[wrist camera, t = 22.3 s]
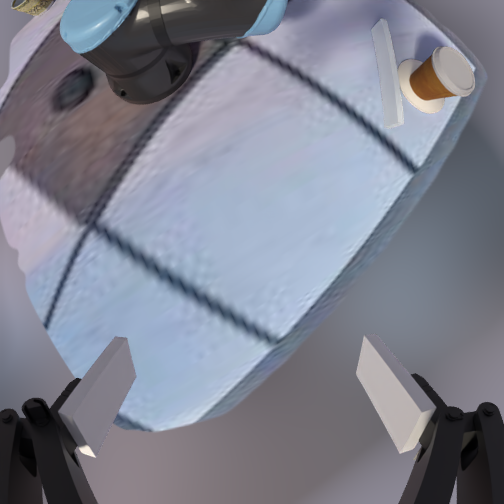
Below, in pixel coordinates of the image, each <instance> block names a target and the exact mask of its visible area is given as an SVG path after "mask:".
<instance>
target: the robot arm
mask: <svg viewBox="0 0 504 504" xmlns="http://www.w3.org/2000/svg"><path fill="white" fill-rule="evenodd" d="M287 3H288V0H71V1H70V3H69V4H68V6H67V7H66V9H65V11H64V13H63V16H62V19H61V22H60V33H61V36H62V38H63V40H64V41H65V42H66V43H68V44H69V45H70V46H71V48H72V49H73V51H75V52H77V53H78V54H80V55H81V56H83V57H84V58H85V59H87V60H88V61H90V62H91V63H93V64H94V65H95V66H97V67H98V68H99V69H101V70H102V71H104V72H105V73H106V76H107V79H108V82H109V85H110V87H111V89H112V90H113V92H114V93H115V94H116V95H117V96H119V97H120V98H122V99H123V100H125V101H127V102H129V103H132V104H149V103H154V102H157V101H159V100H162V99H164V98H166V97H167V96H169V95H171V94H172V93H173V92H175V91H176V90H177V89H178V88H179V87H180V86H181V85H182V84H183V83H184V81H185V80H186V78H187V77H188V75H189V73H190V70H191V67H192V63H193V55H192V51H191V48H190V46H189V43H192V42H198V41H205V40H212V39H220V38H230V37H236V38H244V37H247V36H254V35H265V34H268V33H270V32H272V31H274V30H275V29H276V28H277V27H278V26H279V25H280V23H281V21H282V19H283V17H284V14H285V11H286V7H287ZM356 375H357V377H358V378H359V380H360V382H361V383H362V385H363V387H364V389H365V391H366V392H367V394H368V396H369V398H370V400H371V401H372V403H373V405H374V407H375V409H376V410H377V412H378V414H379V416H380V418H381V419H382V421H383V423H384V425H385V427H386V429H387V430H388V432H389V434H390V436H391V438H392V439H393V441H394V443H395V445H396V447H397V449H398V451H399V453H403V452H406V451H409V450H412V449H414V447H415V446H416V444H417V442H418V441H419V442H420V444H421V445H422V446H421V448H420V450H419V451H418V453H417V454H416V456H415V458H414V460H415V459H416V461H415V464H414V467H413V470H412V472H411V475H410V478H409V480H408V483H407V485H406V488H405V490H404V492H403V495H402V497H401V499H400V501H399V503H398V504H449V502H450V499H451V496H452V492H453V488H454V484H455V480H456V476H457V504H504V424H503V420H502V417H501V414H500V411H499V409H498V407H497V406H496V405H495V404H493V403H490V402H484V403H482V404H480V405H479V407H478V408H477V410H476V411H475V412H467V413H464V412H463V411H462V410H461V409H459V408H457V407H451V406H449V407H447V405H446V404H445V403H444V402H443V400H442V399H441V398H440V397H439V396H438V394H437V393H436V392H435V391H434V390H433V388H432V387H431V386H429V384H428V382H427V381H426V380H425V379H424V378H422V377H421V376H419V375H418V374H411V375H410V374H409V373H408V371H407V370H406V369H405V368H404V367H403V365H402V364H401V363H400V362H399V360H398V359H397V358H396V357H395V356H394V354H392V352H391V351H390V350H389V349H388V347H387V346H386V345H385V344H384V343H383V341H382V340H381V339H380V338H379V337H378V336H377V334H370V335H364V339H363V344H362V349H361V354H360V359H359V363H358V368H357V372H356ZM135 378H136V373H135V369H134V365H133V361H132V357H131V353H130V349H129V345H128V340H127V338H125V337H114V339H113V340H112V341H111V342H110V344H109V345H108V346H107V347H106V349H105V350H104V351H103V352H102V354H101V355H100V356H99V358H98V359H97V360H96V361H95V363H94V364H93V365H92V367H91V368H90V369H89V370H88V372H87V373H86V374H85V376H84V377H83V378H82V379H80V378H76V379H75V380H73V381H72V382H70V383H69V384H68V386H67V387H66V388H65V391H63V392H62V393H61V395H60V396H59V397H58V398H57V400H56V401H55V402H54V404H53V405H52V406H51V408H50V409H49V408H48V406H47V404H46V402H45V401H44V400H43V399H41V398H32V399H29V400H27V401H26V402H25V403H24V404H23V406H22V411H23V413H24V415H25V416H26V418H20V417H19V416H18V414H17V412H16V411H14V410H13V409H4V410H2V411H1V412H0V504H43V498H42V486H43V489H44V493H45V496H46V499H47V502H48V504H98V503H97V501H96V499H95V497H94V494H93V492H92V490H91V488H90V486H89V484H88V481H87V479H86V477H85V474H84V472H83V469H82V467H81V464H80V462H79V459H78V457H77V454H76V453H75V449H76V447H77V446H78V447H79V449H80V451H81V452H82V453H84V454H86V455H89V456H93V457H97V455H98V452H99V450H100V448H101V446H102V444H103V442H104V440H105V438H106V436H107V434H108V432H109V429H110V427H111V425H112V423H113V421H114V419H115V417H116V415H117V413H118V411H119V409H120V407H121V405H122V403H123V401H124V399H125V398H126V396H127V394H128V392H129V390H130V388H131V386H132V384H133V382H134V380H135Z"/></svg>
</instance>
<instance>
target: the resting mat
mask: <svg viewBox="0 0 504 504" xmlns="http://www.w3.org/2000/svg"><path fill="white" fill-rule="evenodd" d="M422 64H423V62H421V61H418V60H415V59H408V60H405V61H403V62H402V63H401V64H400V65H399V67H398V76H399V83H400V89H401V91H402V93H403V95H404V96H405V97H406V99H407V100H408V101H409V102H410V103H411V104H412V105H413V106H414V107H415V108H416V109H418V110H420V111H421V112H424V113H428V114H433V113H436V112H438V111H440V110H441V109H442V107H443V105H444V101H445V98H439V99H434V100H429V101H425V100H422V99H421V98H419V97H418V96H417V95H416V94H415V93H414V92H413V90H412V88H411V86H410V82H409V78H410V75H411V74H412V73H413V72H414V71H415V70H416V69H417V68H418V67H419V66H420V65H422Z"/></svg>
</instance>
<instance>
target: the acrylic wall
mask: <svg viewBox="0 0 504 504" xmlns="http://www.w3.org/2000/svg"><path fill="white" fill-rule="evenodd" d="M371 32H372V37H373V42H374V47H375V53H376V58H377V65H378V71H379V78H380V86H381V95H382V104H383V116H384V128H387V129H392V128H394V127H397V126H400V125H403V124H404V117H403V107H402V98H401V90H400V83H399V76H398V70H397V65H396V59H395V54H394V49H393V44H392V40H391V35H390V31H389V27H388V23H387V20H385V19H382V18H381V19H380V20H379V21H378V22H377V23H376V24H375V26H374V27H373V28H372V29H371Z"/></svg>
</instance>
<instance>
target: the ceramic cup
mask: <svg viewBox="0 0 504 504" xmlns="http://www.w3.org/2000/svg"><path fill="white" fill-rule="evenodd" d="M53 3H54V0H13V2H12V4H11V8H12V9H14V10H17V11H22V12H25V13H28V14H31V15H34V16H41V15H42V14H43V13H45V12H46V11H47V10H48V9H49V8H50V7H51V5H52V4H53Z"/></svg>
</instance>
